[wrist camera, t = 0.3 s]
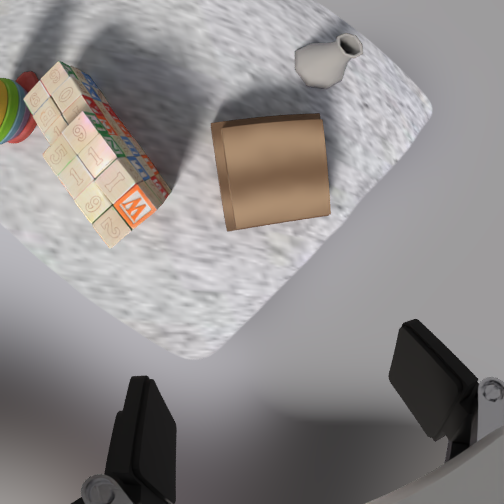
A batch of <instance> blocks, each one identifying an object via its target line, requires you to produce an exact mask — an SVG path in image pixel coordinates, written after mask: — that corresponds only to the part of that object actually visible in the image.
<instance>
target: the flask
mask: <svg viewBox="0 0 504 504" xmlns="http://www.w3.org/2000/svg"><path fill="white" fill-rule="evenodd" d="M362 54H363V46H362V43H361V42H360V40H359V39H358V38H357V36H356V35H352V34H348V33H344V34H342V35H339V36H337V37H336V41H335V42H332V43H311V44H309V45H307V46H305V47H303V48H301V49H299V50H297V51H295V70H296V72H297V73H298V74H299V76H300V77H301V78H302V80H303V81H304V82H305V84H306V85H307V86H310V87H317V88H324V89H328V88H329V87H331V86H333V85H335V84H336V83H338V82H340V81H342V78H343V75H344V72H345V69H346V66H347V64H348V62H349V60H350V59H351V58H356V57H358V56H360V55H362Z"/></svg>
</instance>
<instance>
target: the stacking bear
mask: <svg viewBox="0 0 504 504" xmlns="http://www.w3.org/2000/svg"><path fill="white" fill-rule="evenodd" d="M38 82H39V81H38V78H37V76H36V75H35V73H34V72H31V71H29V72H24V73H22V74H21V76H19V77H18V78H17V80H16V82H15V81H13V80H10V79H6V78H0V144H3V143H5V142H9V143H19V142H21V141H23V140H25V139H26V138H27V137H28V136H29V135H30V134H31V133H32V131H33V130H34V128H35V126H36V124H37V123H36V121H35V119H34V118H33V115H32V113H31V112H30V110H29V108H28V107H27V105H26V103H25V102H24V98H25V96H26V95H27V94H28V93H29V92H30V91H31V89H32V88H33V87H34V86H35V85H36V84H37V83H38Z"/></svg>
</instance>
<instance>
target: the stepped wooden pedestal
mask: <svg viewBox="0 0 504 504" xmlns="http://www.w3.org/2000/svg"><path fill="white" fill-rule="evenodd" d="M211 131H212V139H213V145H214V152H215V159H216V166H217V173H218V179H219V186H220V192H221V199H222V205H223V212H224V218H225V224H226V228H227V232H228V231H234V230H240V229H246V228H252V227H258V226H264V225H270V224H276V223H283V222H289V221H296V220H302V219H309V218H315V217H322V216H329V214H331V211H330V194H329V180H328V168H327V157H326V147H325V137H324V129H323V120H322V119H320V113H315V114H293V115H278V116H266V117H256V118H247V119H238V120H230V121H223V122H216V123H211Z"/></svg>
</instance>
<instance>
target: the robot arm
mask: <svg viewBox="0 0 504 504" xmlns="http://www.w3.org/2000/svg"><path fill="white" fill-rule="evenodd" d="M389 380H390V382H391V384H392V385H393V387H394V388H395V389H396V391H397V392H398V394H399V395H400V397H401V398H402V399H403V401H404V402H405V404H406V405H407V407H408V408H409V409H410V411H411V412H412V414H413V415H414V417H415V418H416V420H417V421H418V423H419V424H420V425H421V427H422V428H423V430H424V431H425V433H426V434H427V436H428V437H430V438H431V437H432V438H433V440H434V441H437V440H439V439H441V438H442V437H444V436H445V435H446V436H447V438H448V446H447V451H446V457H445V462H444V464H443V465H441V466H440V467H438V468H436V469H435V470H433V471H431V472H430V473H428V474H426V475H424V476H423V477H421V478H419V479H417V480H415V481H413V482H411V483H410V484H407V485H406V486H404V487H401V488H400V489H398V490H395V491H393V492H391V493H389V494H387V495H384V496H382V497H380V498H377V499H375V500H373V501H370V502H368V503H365V504H504V382H503V381H501V380H499V379H498V378H494V377H488V378H486V379H483V380H482V381H481V382H480V384H479V383H478V382H477V381H478V378H477V377H476V376H475V375H474V374H473V373H472V372H471V371H470V370H469V369H468V368H467V367H466V366H465V365H464V364H463V363H462V362H461V361H460V360H459V359H458V358H457V357H456V356H455V355H454V354H453V353H452V352H451V351H450V350H449V349H448V348H447V347H446V346H445V345H444V344H443V343H442V342H441V341H440V340H439V339H438V338H437V337H436V336H435V335H434V334H433V333H432V332H431V331H429V329H427V328H426V327H425V326H424V325H423V324H422V323H421V322H420V321H419V320H417V319H414V320H411V321H408V322H405V323H403V324H402V327H401V328H400V329H399V333H398V338H397V343H396V347H395V351H394V355H393V360H392V364H391V368H390V371H389ZM175 478H176V423H175V421H174V419H173V417H172V415H171V413H170V411H169V409H168V408H167V406H166V404H165V402H164V400H163V398H162V396H161V394H160V392H159V390H158V388H157V386H156V383H155V381H154V380H153V379H149V377H148V376H133V377H131V379H130V383H129V387H128V391H127V395H126V399H125V404H124V408H123V411H119V412H118V413H117V415H116V419H115V423H114V428H113V433H112V437H111V442H110V447H109V452H108V457H107V462H106V468H105V474H104V475H103V474H97V475H93V476H90V477H89V478H88V479H87V480H85V482H84V483H83V485H82V488H81V496H82V497H81V498H79V499H78V500H76V501H75V502H73V503H71V504H174V503H175V501H176V489H175V488H176V486H175V485H176V482H175V481H176V479H175Z"/></svg>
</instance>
